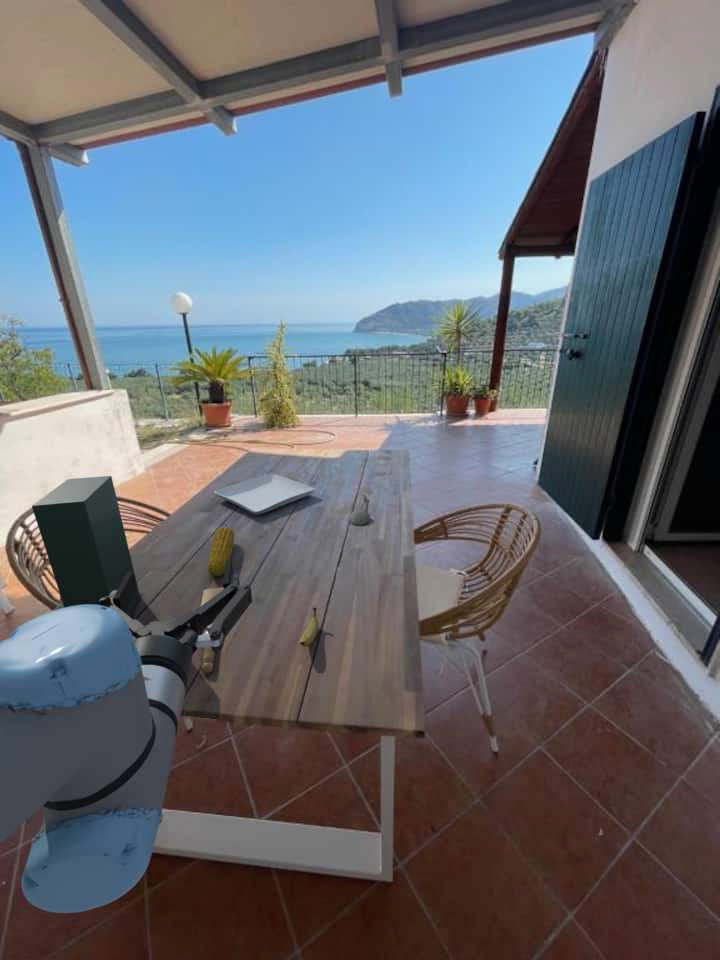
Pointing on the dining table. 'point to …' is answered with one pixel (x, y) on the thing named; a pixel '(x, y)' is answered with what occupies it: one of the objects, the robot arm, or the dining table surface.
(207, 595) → the wooden mallet
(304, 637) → the banana
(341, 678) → the dining table surface
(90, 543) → the stand
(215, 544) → the food
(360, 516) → the soupspoon
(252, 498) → the square plate
